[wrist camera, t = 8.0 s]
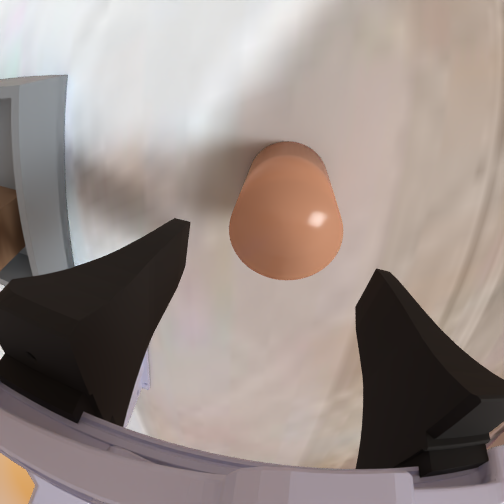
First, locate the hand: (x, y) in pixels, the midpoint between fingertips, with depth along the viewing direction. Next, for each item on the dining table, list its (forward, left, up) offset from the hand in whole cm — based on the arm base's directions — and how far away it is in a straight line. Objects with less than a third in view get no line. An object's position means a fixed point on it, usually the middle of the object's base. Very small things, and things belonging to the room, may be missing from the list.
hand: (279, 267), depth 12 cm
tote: (-4, +23, -10) cm, 25 cm away
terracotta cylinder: (0, 0, -10) cm, 10 cm away
